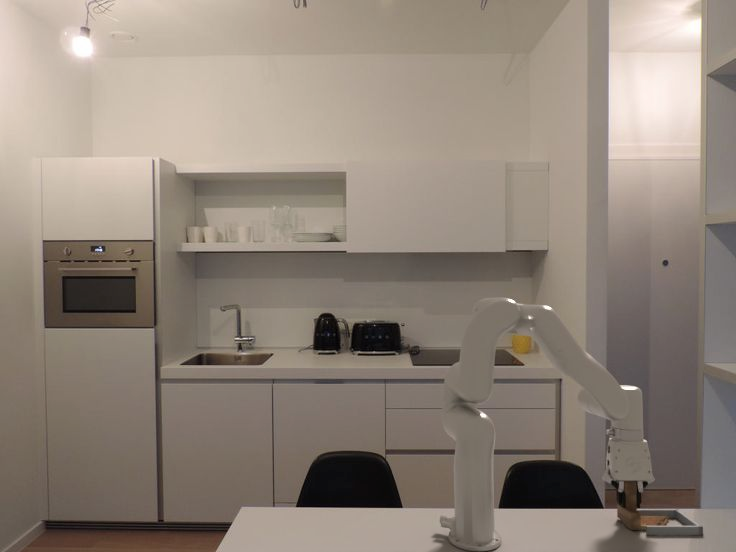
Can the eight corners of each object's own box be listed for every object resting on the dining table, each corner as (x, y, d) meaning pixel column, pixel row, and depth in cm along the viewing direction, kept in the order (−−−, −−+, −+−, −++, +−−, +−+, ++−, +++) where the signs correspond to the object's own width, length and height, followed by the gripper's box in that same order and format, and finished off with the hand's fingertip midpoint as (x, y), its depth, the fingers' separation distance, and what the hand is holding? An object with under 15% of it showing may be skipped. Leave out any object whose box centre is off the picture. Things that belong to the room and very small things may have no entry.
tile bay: (647, 535, 137) (647, 526, 137) (627, 516, 148) (626, 509, 148) (703, 535, 136) (702, 526, 136) (678, 516, 148) (677, 509, 148)
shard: (669, 521, 146) (669, 514, 146) (685, 533, 138) (685, 526, 138) (627, 521, 146) (627, 514, 146) (641, 533, 138) (641, 526, 138)
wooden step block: (629, 529, 139) (628, 485, 139) (616, 516, 147) (615, 474, 147) (641, 529, 139) (640, 485, 139) (627, 516, 147) (627, 475, 147)
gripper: (601, 437, 140) (602, 511, 139) (666, 437, 139) (668, 512, 139) (590, 430, 147) (591, 500, 146) (652, 430, 147) (653, 501, 146)
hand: (629, 505), depth 143 cm, fingers closed on wooden step block, 3 cm apart
